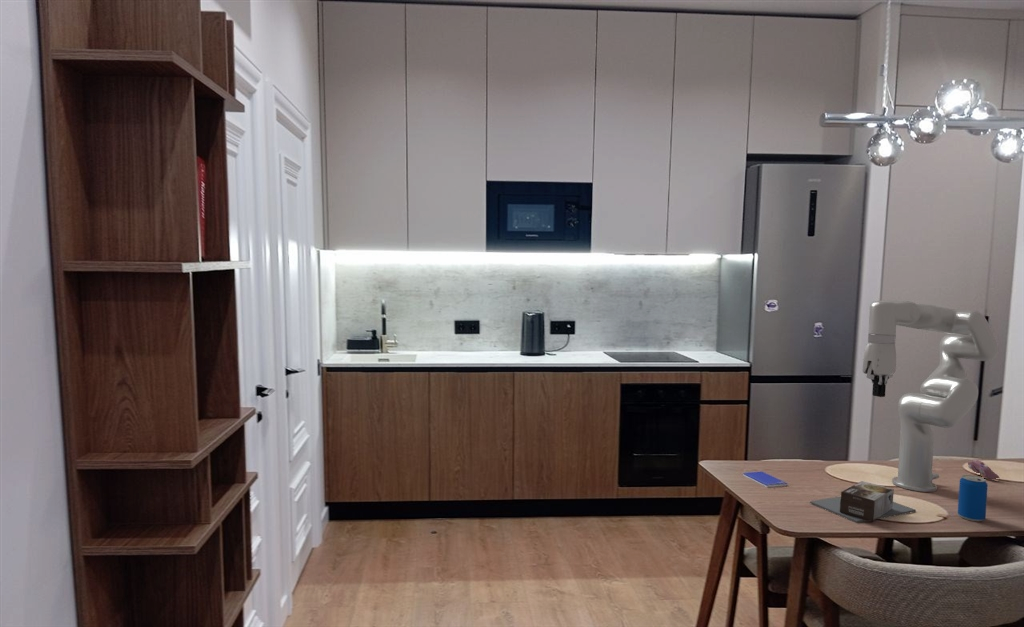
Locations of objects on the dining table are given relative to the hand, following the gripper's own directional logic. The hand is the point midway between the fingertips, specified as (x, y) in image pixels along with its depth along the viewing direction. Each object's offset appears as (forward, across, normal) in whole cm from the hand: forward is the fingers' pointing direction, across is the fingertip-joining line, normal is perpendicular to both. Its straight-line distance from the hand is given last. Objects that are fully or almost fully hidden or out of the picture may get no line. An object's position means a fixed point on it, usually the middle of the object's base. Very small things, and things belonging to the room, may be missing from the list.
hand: (878, 396), depth 195 cm
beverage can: (+32, -8, +25) cm, 41 cm away
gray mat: (+32, +16, +8) cm, 36 cm away
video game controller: (+33, -54, +2) cm, 63 cm away
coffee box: (+28, +11, +9) cm, 31 cm away
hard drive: (+33, +25, -22) cm, 46 cm away
